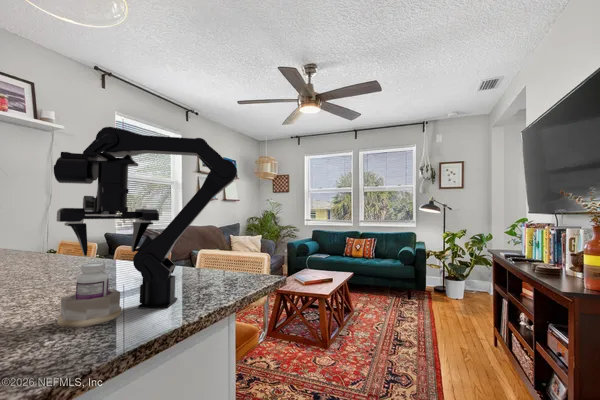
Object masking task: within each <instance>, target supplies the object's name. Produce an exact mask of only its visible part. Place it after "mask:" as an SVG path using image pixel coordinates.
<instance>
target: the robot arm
mask: <svg viewBox="0 0 600 400" xmlns="http://www.w3.org/2000/svg"><path fill="white" fill-rule="evenodd" d="M142 154H143V155H144V154H152V155H153V154H154V155H155V154H156V155H170V156H171V155H172V156H173V155H175V156H193V157H194V156H195V157H197V158H198V159H199V160H200V161H201V162H202V163H203V164H204V165H205V166H206V167H207V168H208V169H209V170H210V171H209V172H208V174H207V176H206V177H205V180H204V182H203V183H202V185H201V187H200V188H199V189H198V190H197V192H196V193H195V194H194V195H193V196H192V197H191V198H190V200H189V201H187V203H186V204H185V206H184V207H183V208H182V209H181V210H180V211H179V212H178V213H177V215H176V216H175V217H174V218H173V219H172V220H171V221H170V223H169V224H167V226H166V227H165V228H164V230H163V231H162V232H161V233H160V234H158V235H157V236H156V235H155V234H151V235H148V236H146V237H145V239H144V241H143V242H142V244H141V245H140V241H141V239H142V238H143V236H144V234H145V232H146V231H147V229H148V228H149V226H150V225H152V226H153V225H154V222H155V221H156V222H159V221H160V212H159V210H157V209H156V208H155V209H154V208H153V209H150V208H147V209H146V208H145V209H144V208H136V209H135V210H134V211H129V207H128V195H129V188H128V186H129V185H128V182H129V181H128V180H129V179H128V177H129V167H134V168H135V167H138V166H139V163H138V162H136V161H135V160H134V159H133V157H135V156H138V155H142ZM59 155H60V157H58V158H57V159H56V161H55V164H54V165H53V175H54V178H55V180H56V181H57V183H59V184H80V185H81V184H82V185H85V184H86V185H87V184H88V185H91V184H93V183H94V181H97V188H96V189H97V191H96V196H94V195H83V198H82V208H79V207H61V208H59V209H57V210H56V211H57V212H56V222H57V223H58V222H61V223H62V222H63V223H64V226H67V227H70V228H71V229H72V230H73V232H74V234H75V236H76V238H77V240H78V243H79V246H80V249H81V251H82V254H83V256H85V257H86V256H88V235H87V234H88V232H87V231H88V230H87V228H88V227H87V223H86V222H85V223H84V220H124V219H125V220H135V221H133V222H132V228H133V230H132V238H131V253H135V254H134V255H133V259H132V263H133V267H134V268H135V269H136V270H137V271H138V272H139V273H140V275H141V277H142V280H141V281H142V284H140V285H139V304H138V305H137V309H167V308H169V307H170V306H171V305H172V304H174V303H175V302H176V301H177V300H178V297H176V295H175V294H176V275H172V274H173V273H174V271H175V269H176V267H177V265H176V264H175V262H173V261H172V260H171V259H170V258H169V256H170V254H171V252H172V250H173V249H174V246H175V244H176V242H177V241H178V240H179V239H180V237H181V236H182V235H183V234H184V233H185V231H186V230H187V229H188V228H189V227H190V226H191V225H192V224H193V222H194V221H195V220H196V219H197V218H198V216H199V215H200V214H201V213H202V212H203V210H204V209H206V207H207V205H209V203H210V202H211V201H212V200H213V199H214V198H215V197H216V196H217V195H219V194H220V193H222V191H223V190H225V189H226V188H227V187H228V186H230V185H231V184H232V183H233V182H234V181H235V179H236V176H237V172H238V170H237V167H236V165H235V163H234V162H232V161H231V160H229V159H225V158H223V157H222V156H221V154H220V153H218V152H217V150H215V149H214V148H213V147H212V146H211V145H209V144H208V142H207V141H206V140H205V139H204V138H201V137H196V138H192V137H176V136H163V135H160V136H159V135H146V134H145V135H144V134H141V133H137V132H133V131H131V130H127V129H123V128H118V127H113V126H105V127H102V128H101V129H100V130H99V131H98V132H97V134H96V135H95V139H94V140H93V141H92V142H91V143H90V144H89V145H88V146H87V147H86V148H85V149H84V150H83V151H82V153H75V152H69V151H60V154H59ZM118 212H119V214H118ZM120 213H121V214H120ZM138 245H140V246H139V247H138Z"/></svg>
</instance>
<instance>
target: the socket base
mask: <svg viewBox="0 0 600 400" xmlns="http://www.w3.org/2000/svg"><path fill="white" fill-rule="evenodd" d="M120 303H121V291H119V290H117V289H115V288H108V295H107V296H104V297H99V298H93V299H79V300H76V291H75V292H72V293H70V294H67V295H65V296H62V297H61V301H60V314H59V315H58V316H57V320H56V321H57V322H56V323H57V325H58V326H60V327H62V328H63V327H64V328H84V327H89V326H96V325H100V324H103V323H106V322H110V321H113V320H115V319H116V317H117V318H118V317H119V316H121V314H122V306H121V305H120Z"/></svg>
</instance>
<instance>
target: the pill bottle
mask: <svg viewBox="0 0 600 400" xmlns="http://www.w3.org/2000/svg"><path fill="white" fill-rule="evenodd" d="M80 267H81V268H80V272H81V273H82V274H80V275H78V276H77V278H76V281H75V282H76V285H75V292H76V300H79V299H93V298H99V297H104V296H107V295H108V289H109V285H110V284H109V283H110V282H109V280H110V278H109V277H110V276H109V274H108V273H107V272H105V270H106V262H91V263H89V262H88V263H84V264H81V266H80Z"/></svg>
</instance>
